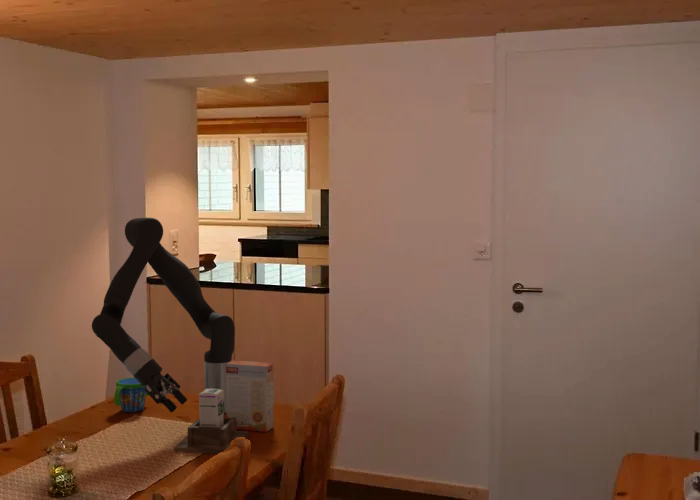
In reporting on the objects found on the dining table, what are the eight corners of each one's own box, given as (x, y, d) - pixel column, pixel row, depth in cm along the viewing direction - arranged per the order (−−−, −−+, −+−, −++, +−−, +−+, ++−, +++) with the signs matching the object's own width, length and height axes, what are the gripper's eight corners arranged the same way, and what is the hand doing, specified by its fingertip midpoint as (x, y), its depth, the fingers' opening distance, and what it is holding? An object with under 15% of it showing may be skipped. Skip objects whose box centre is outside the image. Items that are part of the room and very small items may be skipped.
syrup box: (218, 442, 219) (217, 393, 218) (199, 441, 220) (198, 392, 219) (225, 436, 224) (224, 388, 223) (206, 435, 225) (205, 387, 224)
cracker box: (274, 427, 237) (274, 362, 236) (266, 433, 232) (266, 366, 230) (235, 423, 242) (234, 359, 240) (225, 428, 236) (225, 362, 235)
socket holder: (195, 432, 231) (194, 413, 231) (248, 435, 229) (248, 415, 229) (174, 451, 215) (174, 430, 214) (231, 454, 212) (231, 433, 212)
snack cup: (139, 402, 265) (138, 374, 265) (160, 407, 260) (160, 378, 259) (103, 413, 252) (103, 383, 251) (125, 418, 246) (125, 387, 246)
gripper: (141, 363, 216) (179, 404, 215) (160, 353, 230) (196, 391, 229) (123, 380, 217) (162, 421, 216) (144, 369, 231) (180, 408, 230)
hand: (179, 406), depth 222 cm, fingers open, 8 cm apart
